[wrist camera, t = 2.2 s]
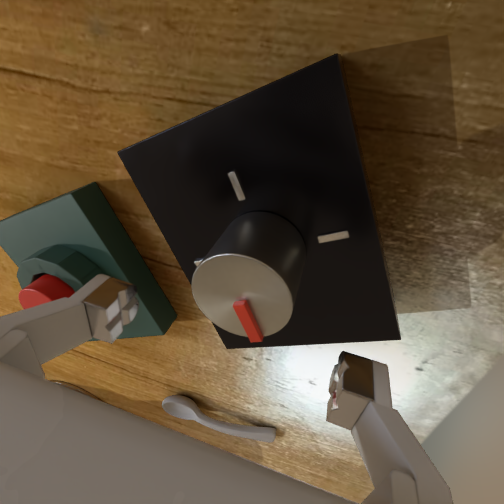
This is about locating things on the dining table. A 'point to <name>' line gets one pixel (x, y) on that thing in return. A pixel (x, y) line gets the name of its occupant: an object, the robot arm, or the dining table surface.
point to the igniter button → (44, 291)
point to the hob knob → (251, 276)
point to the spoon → (190, 411)
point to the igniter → (84, 253)
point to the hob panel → (279, 199)
